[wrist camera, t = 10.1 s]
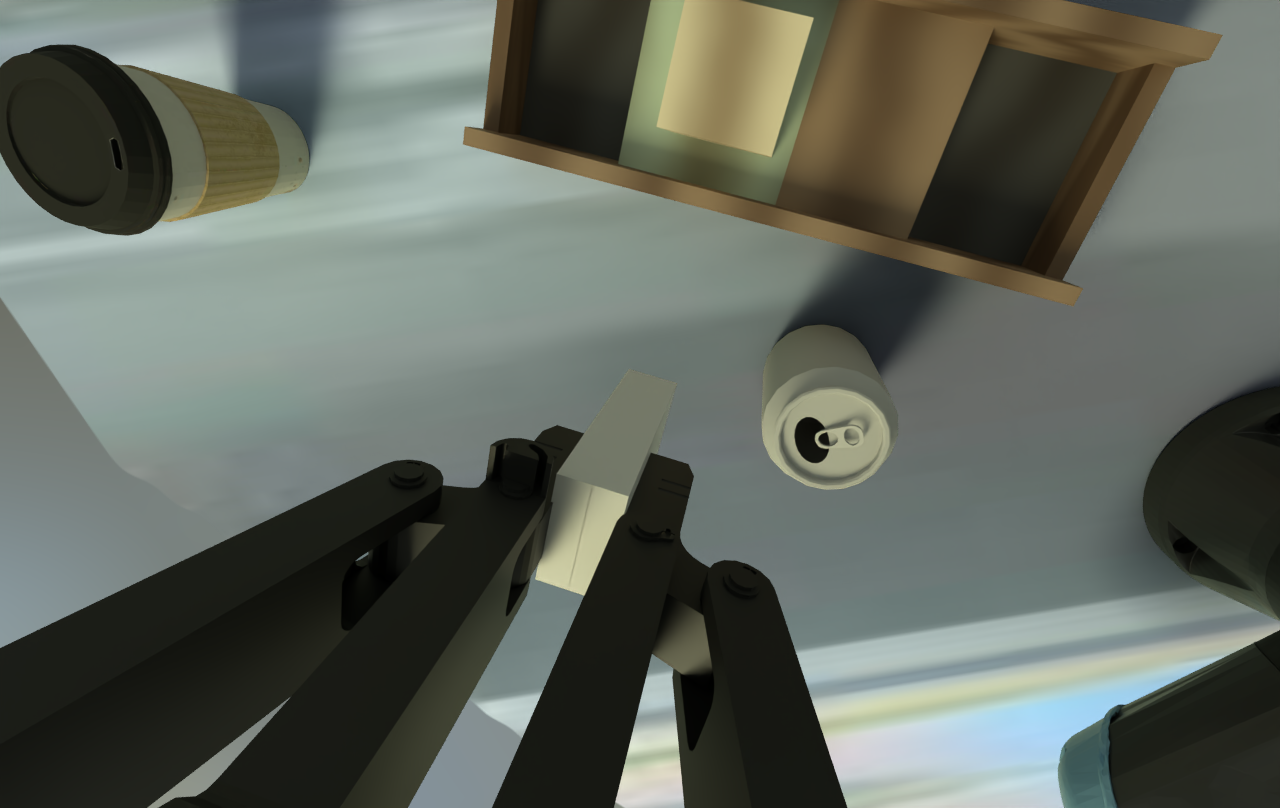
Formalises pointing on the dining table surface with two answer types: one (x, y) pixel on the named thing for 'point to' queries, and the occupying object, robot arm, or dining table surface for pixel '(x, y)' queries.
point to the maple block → (733, 73)
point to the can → (826, 409)
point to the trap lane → (862, 122)
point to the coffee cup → (137, 142)
